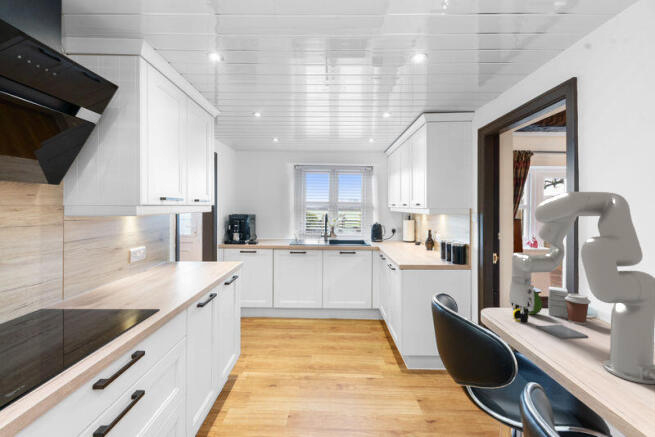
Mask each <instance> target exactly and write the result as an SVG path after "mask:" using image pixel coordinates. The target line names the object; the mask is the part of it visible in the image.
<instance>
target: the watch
mask: <svg viewBox="0 0 655 437" xmlns="http://www.w3.org/2000/svg"><path fill="white" fill-rule="evenodd" d="M518 310H520V311H521V312H522V309H521V306H520V307H518V308H517V309H515V310H513V312H512V317H514V318H513V319H514V320H515V321H516V322H521V321H520V319H516V318H515V316H514V315H515V312H516V311H518ZM528 318H530V317H529V315H528Z"/></svg>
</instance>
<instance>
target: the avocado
mask: <svg viewBox="0 0 655 437" xmlns="http://www.w3.org/2000/svg"><path fill="white" fill-rule="evenodd" d="M533 290H534V307H533V308H534V310H533V311H530V312H529V314H528V315H536V314H539V313H541V311H542V309H543V301H542V298H541V297H540V295H539V293H538V292H537V291H536V290H535V289H533ZM524 309H526V308H524Z"/></svg>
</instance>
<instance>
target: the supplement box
mask: <svg viewBox="0 0 655 437" xmlns="http://www.w3.org/2000/svg"><path fill="white" fill-rule="evenodd" d="M568 294H569V292H568V288H565V287H558V286H557V287H556V286H548V316H554V317H560V318H566V319H568V313H567V300H565V297H567V296H568Z"/></svg>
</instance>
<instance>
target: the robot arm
mask: <svg viewBox="0 0 655 437" xmlns="http://www.w3.org/2000/svg"><path fill="white" fill-rule="evenodd" d="M534 217H535V219H536V221H538V223H541V224H542V226H541V227H540V230H539V231H538V236H539V238H540V239H541V240H542V241H544V242H545V243H548V244H549V245H550V246H549V249H548V251H547V252H546V253H545V254H530V253H527V252H514V253H513V254H512V255H511V257H512V258H511V282H510V289H509V299H508V302H509V303H510V304H511V307H512V310H513V311H514V310H515V309H517V308H518V307H520V308H521V309H522V311H520V310H518V311H516V312H515V315H514V316H515V318H516V319H517V320H520V321H519V322H520V323H528V322H529V317H528V316H529V315H530V314H529V312H530V311H533V310H534V308H533V307H534V290H535V289H534V285H533V284H532V282H533V281H532V274H534V273H535V274H536V273H537V274H538V273H552V272H555V271H557V269H558V268H559V267H560V265H561V263H562V262H563V261H564V258H565V253H566V252H565V245H564V243H563V241H564V239H565V237H567V235H568V233H569V231H570V229H571V228H572V226H573V225H574V223H575V221H576V219H577V217H599V219H598V221H597V230H598V233H599V236H592V237H589V238H587V239H586V240H585V241H584V242H583V244H582V245H581V250H580V255H581V256H580V257H581V261H582V265H583V269H584V273H585V275H586V280H587V284H588V287H589V289H590V292H591V294H592V295H593V297H595V298H596V299H597V300H598V301H600V302H603V303H605V304H613V306H612V310H611V315H610V316H611V318H610V341H609V342H610V344H609V359H608V360H605V361H603V363H602V365H603V366H602V367H603V369H605V370H606V371H607V372H608V373H610V374H612V375H614V376H617V377H618V378H621V379H625V380H627V381H631V382H636V383H639V384H648V385H655V364H654V358H655V357H654V355H655V353H654V352H655V277H654V276H652V275H651V274H650V273H647V272H644V271H640V270H619V269H618V267H619V268H620V267H632V266H633V267H634V266H636V265H638V264H640V263H641V262H642V260H643V251H642V247H641V244H640V241H639V238H638V233H637V231H636V229H635V226H634V224H633V219H632V215H631V208H630V205H629V202H628V201H627V199H626V198H625V197H623V195H622V194H621V195H620V194H618V193H615V192H614V193H613V192H609V191H608V192H607V191H569V192H564V193H561V194H559V195H557V196H554V197H550V198H548V199H546V200H543V201H541V202H540V203H539V204H538V205H537V207H536V208H535V211H534ZM524 308H526V309H524ZM512 317H513V316H512ZM513 319H514V317H513Z"/></svg>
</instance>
